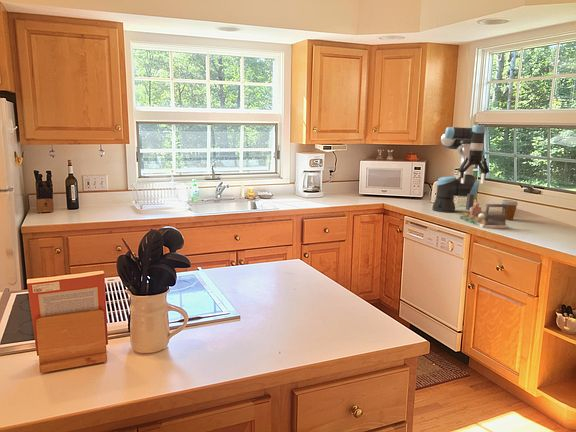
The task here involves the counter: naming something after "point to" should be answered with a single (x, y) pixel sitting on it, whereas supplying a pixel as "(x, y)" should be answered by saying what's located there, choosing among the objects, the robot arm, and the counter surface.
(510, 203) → the disposable coffee cup
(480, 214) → the ball
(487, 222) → the pitch
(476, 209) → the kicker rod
